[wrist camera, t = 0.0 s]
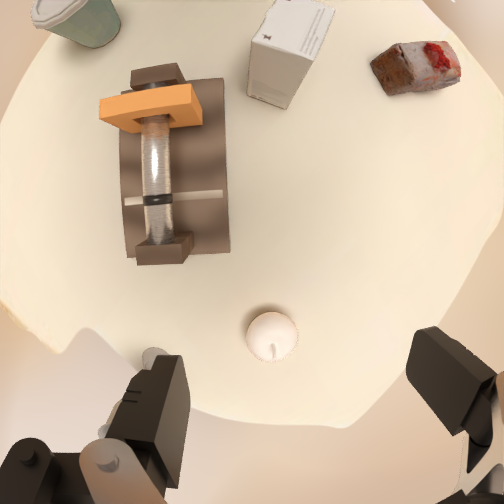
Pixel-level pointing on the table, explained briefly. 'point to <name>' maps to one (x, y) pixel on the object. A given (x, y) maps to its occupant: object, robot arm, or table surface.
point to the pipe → (157, 176)
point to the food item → (417, 67)
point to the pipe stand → (180, 176)
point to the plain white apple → (272, 337)
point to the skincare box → (286, 49)
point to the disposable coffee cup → (78, 20)
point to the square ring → (152, 107)
